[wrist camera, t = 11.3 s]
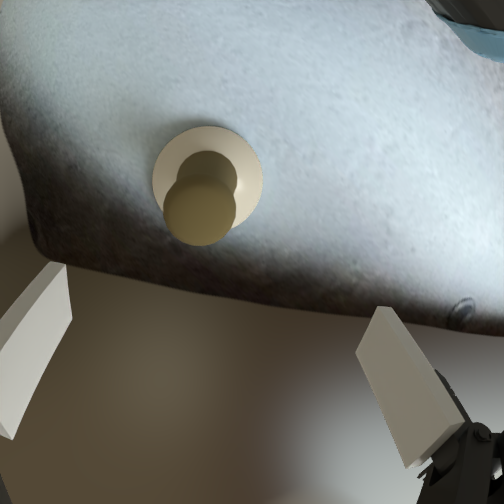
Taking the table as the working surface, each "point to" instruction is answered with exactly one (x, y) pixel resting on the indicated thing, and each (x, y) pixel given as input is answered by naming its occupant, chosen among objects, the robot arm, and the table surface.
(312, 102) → the table surface
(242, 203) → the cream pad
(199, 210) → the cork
